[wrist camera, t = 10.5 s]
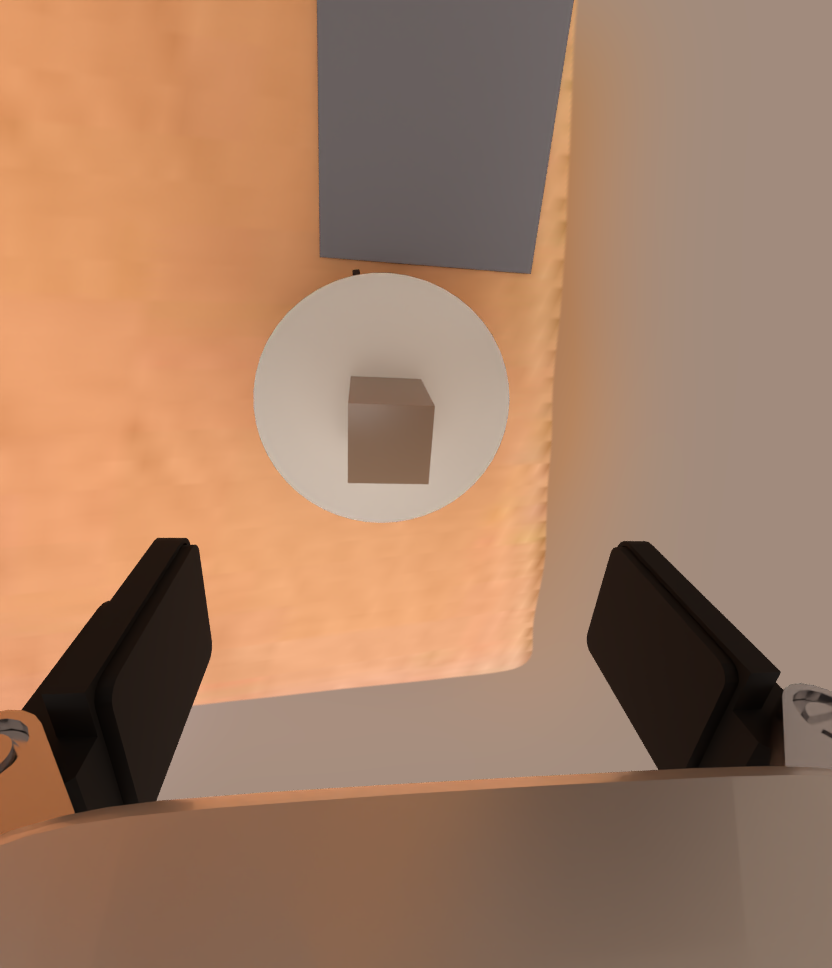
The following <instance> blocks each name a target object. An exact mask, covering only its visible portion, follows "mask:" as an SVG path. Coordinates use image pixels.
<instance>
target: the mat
mask: <svg viewBox="0 0 832 968" xmlns="http://www.w3.org/2000/svg"><path fill="white" fill-rule="evenodd" d="M573 2H574V0H317V38H318V130H319V222H320V257H327V258H339V259H352V260H364V261H377V262H390V263H402V264H415V265H427V266H440V267H453V268H465V269H478V270H490V271H503V272H516V273H528V274H531V269H532V263H533V256H534V250H535V244H536V237H537V231H538V224H539V218H540V212H541V205H542V199H543V193H544V186H545V180H546V174H547V167H548V161H549V154H550V148H551V142H552V135H553V129H554V123H555V116H556V110H557V104H558V97H559V91H560V84H561V78H562V72H563V65H564V59H565V53H566V46H567V40H568V34H569V27H570V21H571V14H572V8H573Z"/></svg>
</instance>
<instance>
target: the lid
mask: <svg viewBox="0 0 832 968" xmlns="http://www.w3.org/2000/svg"><path fill="white" fill-rule="evenodd" d="M508 411H509V383H508V378H507V372H506V367H505V364H504V361H503V358H502V355H501V352H500V350H499V348H498V346H497V344H496V342H495V340H494V338H493V336H492V334H491V333H490V331H489V330H488V328H487V327H486V326H485V324H484V323H483V321H482V320H481V319H480V318H479V317H478V316H477V315H476V314H475V312H474V311H473V310H472V309H471V308H470V307H468V306H467V305H466V304H465V303H464V302H462V301H461V300H460V299H459V298H458V297H456V296H454V295H453V294H451V293H450V292H448V291H446V290H445V289H443V288H441V287H439V286H437V285H434V284H432V283H430V282H428V281H425V280H422V279H418V278H415V277H411V276H408V275H401V274H394V273H367V274H360V275H353V276H350V277H346V278H343V279H340V280H336V281H334V282H332V283H330V284H328V285H326V286H323V287H321V288H319V289H318V290H316V291H315V292H313V293H311V294H310V295H308V296H307V297H305V298H304V299H302V300H301V301H300V302H299V303H298V304H297V305H296V306H294V307H293V308H292V309H291V310H290V311H289V312H288V313H287V314H286V315H285V317H284V318H283V319H282V320H281V321H280V322H279V324H278V325H277V326H276V328H275V329H274V331H273V333H272V334H271V336H270V337H269V339H268V341H267V343H266V345H265V348H264V350H263V352H262V354H261V357H260V360H259V364H258V367H257V371H256V376H255V383H254V412H255V419H256V425H257V428H258V432H259V435H260V439H261V441H262V444H263V446H264V448H265V450H266V453H267V455H268V456H269V458H270V460H271V461H272V463H273V465H274V466H275V468H276V469H277V470H278V472H279V473H280V474H281V475H282V477H283V478H284V479H285V480H286V481H287V482H288V483H289V484H290V485H291V486H292V487H293V488H294V489H295V490H296V491H297V492H298V493H299V494H301V495H302V496H303V497H305V498H306V499H307V500H309V501H310V502H312V503H314V504H315V505H317V506H319V507H320V508H322V509H324V510H327V511H329V512H331V513H334V514H336V515H339V516H342V517H346V518H349V519H353V520H359V521H364V522H378V523H385V522H398V521H404V520H410V519H414V518H417V517H421V516H424V515H427V514H429V513H432V512H434V511H436V510H439V509H441V508H442V507H444V506H446V505H448V504H449V503H451V502H453V501H454V500H455V499H457V498H458V497H460V496H461V495H462V494H464V493H465V492H466V491H467V490H468V489H469V488H470V487H471V486H472V485H473V484H475V482H476V481H477V480H478V479H479V478H480V477H481V475H482V474H483V473H484V472H485V470H486V469H487V467H488V466H489V464H490V463H491V461H492V460H493V458H494V456H495V454H496V452H497V450H498V448H499V446H500V443H501V440H502V438H503V435H504V432H505V428H506V423H507V419H508Z"/></svg>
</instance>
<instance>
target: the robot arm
mask: <svg viewBox="0 0 832 968" xmlns="http://www.w3.org/2000/svg"><path fill="white" fill-rule="evenodd" d="M587 645H588V648H589V651H590V653H591V654H592V656H593V658H594V660H595V661H596V663H597V665H598V666H599V668H600V670H601V672H602V673H603V675H604V677H605V678H606V680H607V682H608V684H609V685H610V687H611V689H612V691H613V692H614V694H615V696H616V697H617V699H618V701H619V703H620V704H621V706H622V708H623V709H624V711H625V713H626V715H627V716H628V718H629V719H630V722H631V723H632V725H633V727H634V728H635V730H636V732H637V733H638V735H639V737H640V739H641V740H642V742H643V744H644V746H645V747H646V749H647V751H648V752H649V754H650V756H651V758H652V759H653V761H654V763H655V765H656V766H657V768H658V770H650V771H631V772H630V771H629V772H610V773H609V772H608V773H590V774H569V775H551V776H532V777H515V778H496V779H479V780H463V781H444V782H426V783H409V784H393V785H376V786H362V787H344V788H328V789H312V790H296V791H282V792H281V791H280V792H265V793H252V794H251V793H250V794H238V795H225V796H213V797H200V798H187V799H175V800H162V801H156V800H157V797H158V795H159V792H160V789H161V787H162V784H163V781H164V779H165V776H166V774H167V771H168V768H169V766H170V763H171V760H172V758H173V755H174V752H175V750H176V747H177V745H178V742H179V739H180V736H181V734H182V731H183V728H184V726H185V723H186V721H187V718H188V715H189V713H190V710H191V707H192V705H193V702H194V700H195V697H196V694H197V692H198V689H199V686H200V684H201V681H202V679H203V676H204V673H205V671H206V668H207V665H208V663H209V660H210V657H211V651H212V639H211V632H210V625H209V618H208V611H207V603H206V596H205V589H204V582H203V575H202V568H201V561H200V554H199V548H198V546H197V545H190V542H189V540H188V539H187V538H157V539H156V540H155V541H154V542H153V543H152V545H151V546H150V547H149V549H148V550H147V551H146V553H145V554H144V555H143V557H142V558H141V560H140V561H139V562H138V564H137V565H136V566H135V568H134V569H133V570H132V572H131V573H130V575H129V576H128V577H127V579H126V580H125V581H124V583H123V584H122V585H121V587H120V588H119V589H118V591H117V592H116V594H115V595H114V596H113V598H112V599H111V600H110V601H107V602H105V603H103V604H102V605H101V606H100V607H99V608H98V609H97V611H96V612H95V613H94V615H93V616H92V617H91V618H90V620H89V621H88V622H87V624H86V625H85V626H84V628H83V629H82V630H81V632H80V633H79V634H78V636H77V637H76V638H75V640H74V641H73V642H72V644H71V645H70V646H69V648H68V649H67V650H66V652H65V653H64V654H63V656H62V657H61V658H60V660H59V661H58V662H57V664H56V665H55V666H54V668H53V669H52V670H51V672H50V673H49V674H48V676H47V677H46V678H45V680H44V681H43V682H42V684H41V685H40V686H39V688H38V689H37V690H36V692H35V693H34V694H33V695H32V697H31V698H30V699H29V701H28V702H27V703H26V705H25V706H24V707H23V709H22V710H5V711H0V968H832V692H831V691H829V690H827V689H824V688H820V687H817V686H814V685H808V684H801V683H800V684H791V685H789V686H788V687H786V688H785V689H784V690H783V689H782V688H780V686H779V685H778V684H777V683H776V680H777V679H778V677H779V675H780V671H779V670H778V669H777V668H776V667H775V666H774V665H773V664H772V663H771V662H770V661H769V660H768V659H767V658H766V657H765V656H764V655H763V654H762V653H761V652H760V651H759V650H758V649H757V648H756V647H755V646H754V645H753V644H752V643H751V642H750V641H749V640H748V639H747V638H746V637H745V636H744V635H743V634H742V633H741V632H740V631H739V630H738V629H737V628H736V627H735V626H734V625H733V624H732V623H731V622H730V621H729V620H728V619H726V617H725V616H724V615H723V614H721V613H720V611H719V610H718V609H717V608H715V607H714V606H713V605H712V604H711V603H710V602H709V601H708V600H707V599H706V598H705V597H704V596H703V595H702V594H701V593H700V592H699V591H698V590H697V589H696V588H695V587H694V586H693V585H692V584H691V583H690V582H689V581H688V580H687V579H686V578H685V577H684V576H683V575H682V574H681V573H680V572H679V571H678V570H677V569H676V568H675V567H674V566H673V565H672V564H671V563H670V562H669V561H668V560H667V559H666V558H665V557H664V556H663V555H661V553H660V552H659V551H658V550H657V549H656V548H655V547H654V546H652V545H651V544H650V543H649V542H645V541H623V542H621V543H620V544H619V545H618V547H615V548H613V550H612V551H611V554H610V557H609V561H608V564H607V568H606V571H605V574H604V578H603V581H602V585H601V588H600V592H599V595H598V599H597V602H596V606H595V609H594V613H593V616H592V620H591V623H590V627H589V630H588V634H587Z"/></svg>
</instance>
